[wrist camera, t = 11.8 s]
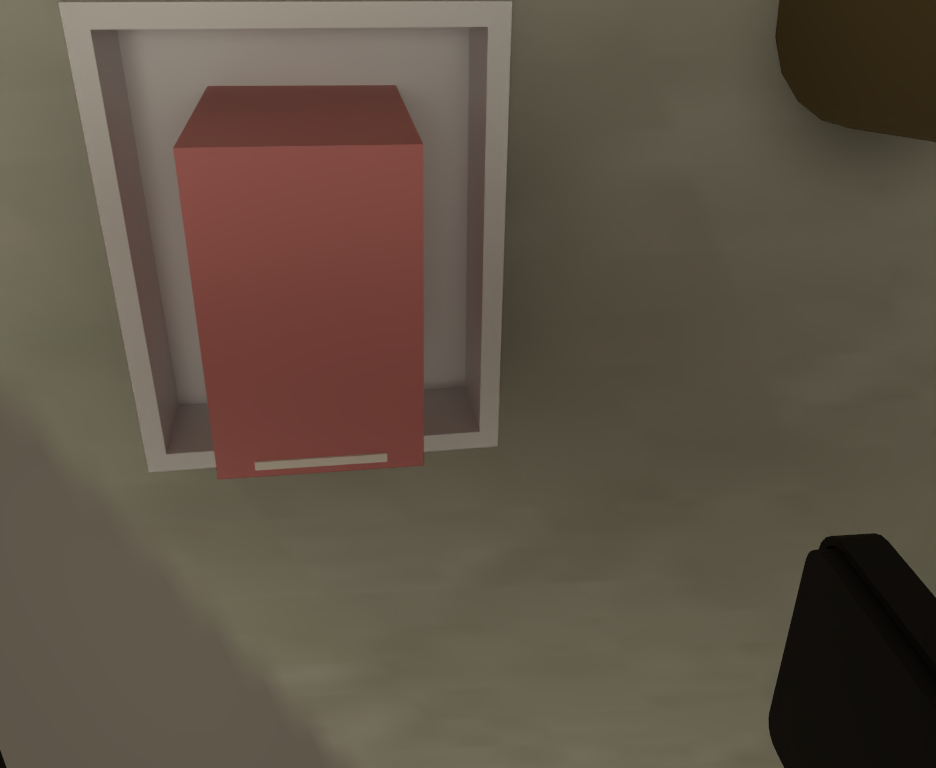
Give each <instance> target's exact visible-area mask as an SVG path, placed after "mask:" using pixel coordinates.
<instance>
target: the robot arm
mask: <svg viewBox="0 0 936 768" xmlns="http://www.w3.org/2000/svg"><path fill="white" fill-rule="evenodd" d="M769 730H770V736H771V739H772V743H773V745H774V748H775V750H776V752H777V754H778V756H779V758H780V760H781V762H782V764H783V766H784V768H936V598H935V596H934V595H933V594H932V593H931V592H930V590H929V589H928V588H927V587H926V586H925V585H924V583H923V582H922V581H921V580H920V579H919V577H918V576H917V575H916V574H915V573H914V571H913V570H912V569H911V568H910V567H909V566H908V564H907V563H906V562H905V561H904V560H903V558H902V557H901V556H900V555H899V554H898V552H897V551H896V550H895V549H894V548H893V547H892V545H891V544H890V543H889V542H888V541H887V540H886V539H885V538H884V537H883V536H881V535H878V534H875V533H873V534H857V535H841V536H830V537H826V538H825V539H824V540H823V541H822V542H821V545H820V547H819V550H813V551H811V552H810V553H809V554H808V556H807V558H806V561H805V565H804V569H803V574H802V578H801V582H800V586H799V590H798V595H797V599H796V603H795V607H794V611H793V616H792V620H791V624H790V628H789V632H788V637H787V641H786V645H785V649H784V653H783V657H782V662H781V666H780V670H779V674H778V678H777V683H776V687H775V691H774V695H773V699H772V704H771V708H770V712H769ZM0 768H6V765H5V763H4V759H3V757H2V754H1V751H0Z"/></svg>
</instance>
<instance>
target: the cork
mask: <svg viewBox="0 0 936 768" xmlns="http://www.w3.org/2000/svg"><path fill="white" fill-rule="evenodd" d="M776 42H777V48H778V53H779V59H780V65H781V70H782V74H783V76H784V77H785V79H786V81H787V83H788V84H789V86H790V88H791V90H792V91H793V93H794V95H795V97H796V99H797V100H798V102H800V103H801V104H802V105H803V106H805V107H806V108H807V109H808V110H810V111H811V112H812V113H814V114H815V115H816V116H817V117H819V118H820V119H821V120H823V121H827V122H830V123H834V124H837V125H841V126H844V127H848V128H852V129H858V130H864V131H870V132H877V133H883V134H889V135H895V136H902V137H908V138H914V139H920V140H926V141H933V142H936V0H780V4H779V13H778V21H777V30H776Z"/></svg>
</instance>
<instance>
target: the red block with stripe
mask: <svg viewBox="0 0 936 768" xmlns="http://www.w3.org/2000/svg"><path fill="white" fill-rule="evenodd" d="M173 151H174V158H175V166H176V173H177V181H178V188H179V195H180V203H181V210H182V218H183V225H184V232H185V240H186V247H187V255H188V262H189V269H190V277H191V284H192V292H193V299H194V306H195V314H196V321H197V329H198V336H199V343H200V351H201V358H202V366H203V373H204V380H205V388H206V395H207V403H208V410H209V417H210V425H211V432H212V440H213V447H214V455H215V462H216V469H217V477H218V479H232V478H247V477H261V476H276V475H291V474H305V473H320V472H335V471H350V470H364V469H379V468H394V467H408V466H423V465H424V225H423V142H422V140H421V138H420V136H419V134H418V132H417V130H416V127H415V125H414V123H413V121H412V119H411V117H410V115H409V112H408V110H407V108H406V106H405V104H404V102H403V100H402V97H401V95H400V93H399V91H398V89H397V87H396V85H304V86H207V88H206V90H205V91H204V93H203V95H202V97H201V99H200V100H199V102H198V104H197V106H196V108H195V109H194V111H193V113H192V115H191V117H190V118H189V120H188V122H187V124H186V126H185V127H184V129H183V131H182V133H181V135H180V136H179V138H178V140H177V142H176V144H175V145H174V147H173Z"/></svg>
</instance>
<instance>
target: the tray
mask: <svg viewBox="0 0 936 768" xmlns="http://www.w3.org/2000/svg"><path fill="white" fill-rule="evenodd" d="M58 3H59V8H60V13H61V18H62V24H63V29H64V34H65V39H66V44H67V50H68V55H69V60H70V65H71V70H72V76H73V81H74V86H75V91H76V96H77V102H78V107H79V112H80V117H81V122H82V128H83V133H84V138H85V143H86V148H87V154H88V159H89V164H90V169H91V174H92V180H93V185H94V190H95V195H96V200H97V206H98V211H99V216H100V221H101V226H102V232H103V237H104V242H105V247H106V252H107V258H108V263H109V268H110V273H111V278H112V284H113V289H114V294H115V299H116V304H117V310H118V315H119V320H120V325H121V330H122V336H123V341H124V346H125V351H126V356H127V362H128V367H129V372H130V377H131V382H132V388H133V393H134V398H135V403H136V408H137V414H138V419H139V424H140V429H141V434H142V440H143V445H144V450H145V455H146V460H147V466H148V471H149V472H161V471H175V470H188V469H201V468H215V467H216V462H215V455H214V447H213V440H212V432H211V425H210V417H209V410H208V403H207V395H206V388H205V380H204V373H203V366H202V358H201V351H200V343H199V336H198V329H197V321H196V314H195V306H194V299H193V292H192V284H191V277H190V269H189V262H188V255H187V247H186V240H185V232H184V225H183V218H182V210H181V203H180V195H179V188H178V181H177V173H176V166H175V158H174V151H173V147H174V145H175V144H176V142H177V140H178V138H179V136H180V135H181V133H182V131H183V129H184V127H185V126H186V124H187V122H188V120H189V118H190V117H191V115H192V113H193V111H194V109H195V108H196V106H197V104H198V102H199V100H200V99H201V97H202V95H203V93H204V91H205V90H206V88H207V86H304V85H396V87H397V89H398V91H399V93H400V95H401V97H402V100H403V102H404V104H405V106H406V108H407V110H408V112H409V115H410V117H411V119H412V121H413V123H414V125H415V127H416V130H417V132H418V134H419V136H420V138H421V140H422V142H423V225H424V452H429V451H442V450H455V449H469V448H482V447H496V446H498V419H499V389H500V358H501V327H502V297H503V266H504V235H505V205H506V174H507V143H508V113H509V82H510V51H511V21H512V1H511V0H63V1H60V2H58Z"/></svg>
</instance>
